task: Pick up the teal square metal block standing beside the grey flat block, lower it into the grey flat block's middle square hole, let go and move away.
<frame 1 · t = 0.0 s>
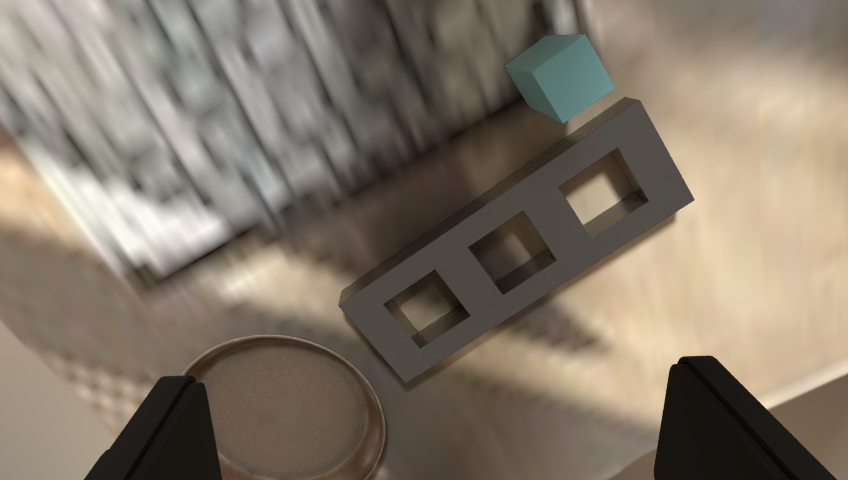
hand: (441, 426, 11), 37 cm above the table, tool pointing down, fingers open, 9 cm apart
plant saucer: (283, 408, 55), on the table
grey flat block: (506, 241, 50), on the table
square block: (537, 72, 45), on the table
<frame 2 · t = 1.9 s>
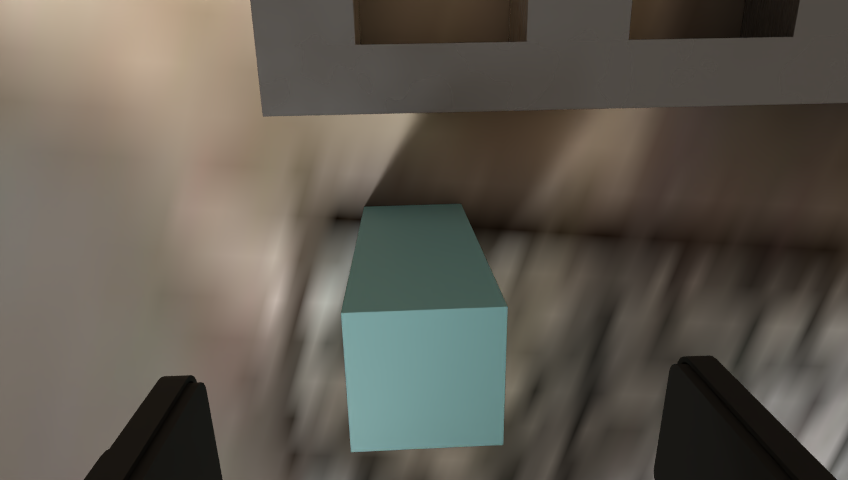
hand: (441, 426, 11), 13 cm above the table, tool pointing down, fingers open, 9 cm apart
square block: (413, 250, 23), on the table
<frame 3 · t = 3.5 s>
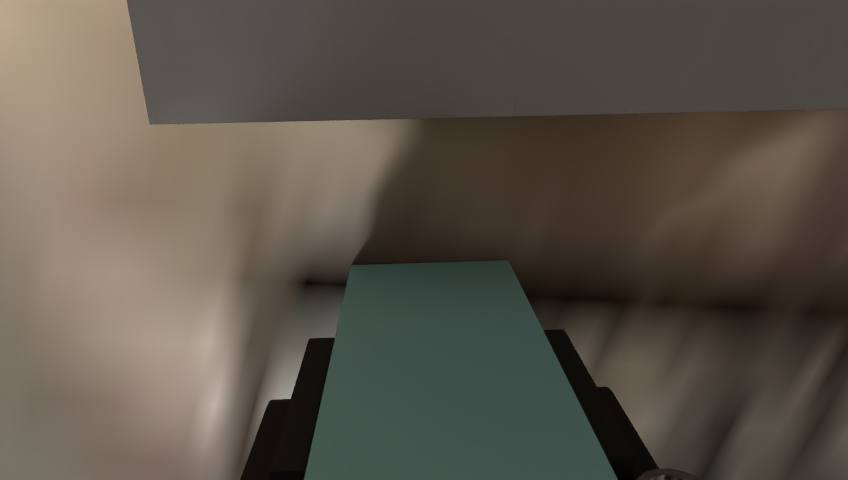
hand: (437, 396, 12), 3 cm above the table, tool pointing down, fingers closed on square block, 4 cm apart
square block: (430, 332, 15), on the table, touching gripper
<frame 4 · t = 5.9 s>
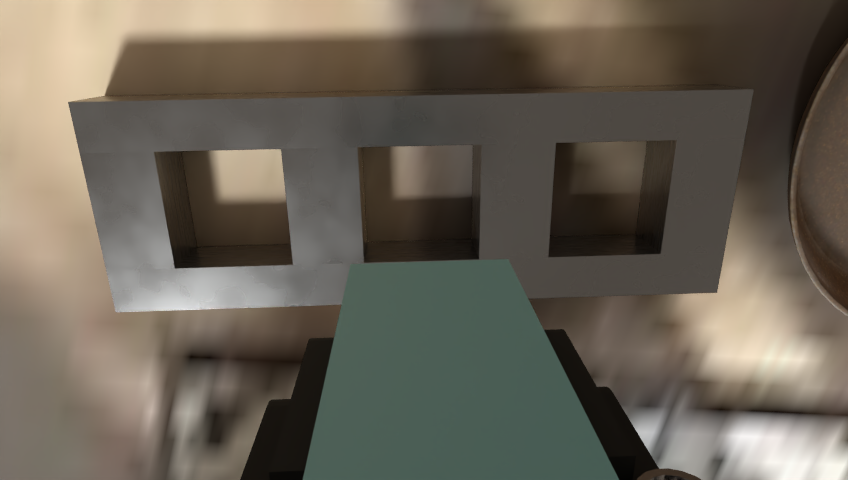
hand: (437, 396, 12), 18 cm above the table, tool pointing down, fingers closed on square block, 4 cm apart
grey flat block: (418, 189, 28), on the table
square block: (430, 331, 15), point 15 cm above the table, touching gripper
when the fingers open (4 cm above the table, at t = 8.3 s): square block stays where it is, resting in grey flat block.
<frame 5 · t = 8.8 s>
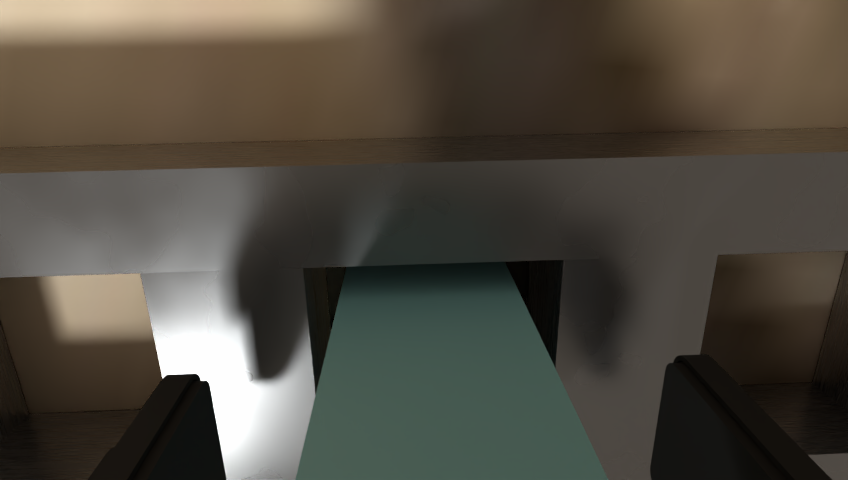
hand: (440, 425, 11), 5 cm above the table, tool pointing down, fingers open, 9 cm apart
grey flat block: (428, 314, 15), on the table
square block: (425, 314, 16), resting in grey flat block
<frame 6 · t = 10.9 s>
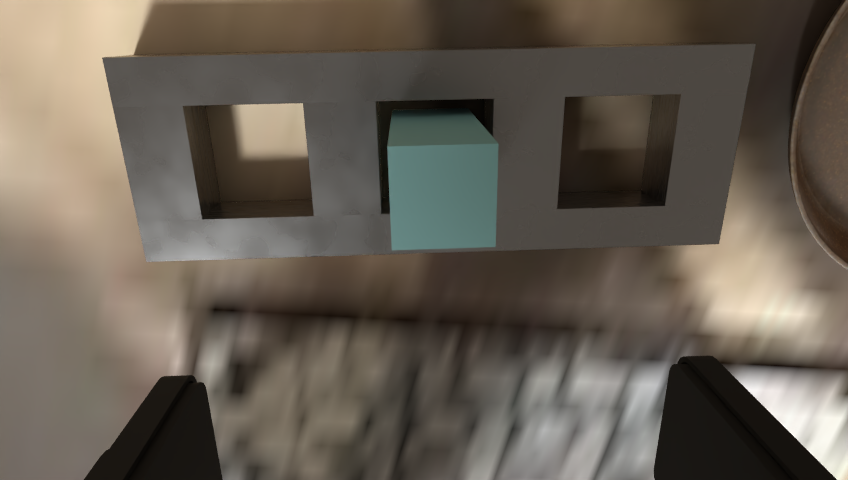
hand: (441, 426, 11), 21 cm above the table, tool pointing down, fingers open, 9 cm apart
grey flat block: (432, 146, 30), on the table
square block: (430, 146, 30), resting in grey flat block
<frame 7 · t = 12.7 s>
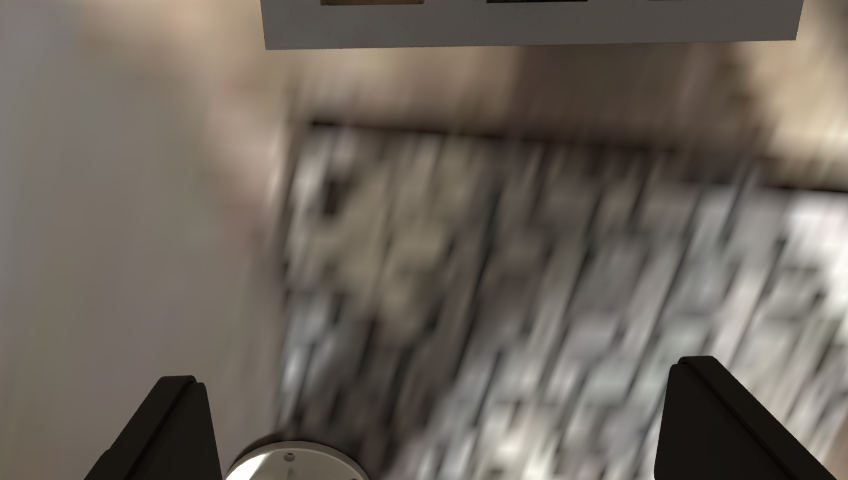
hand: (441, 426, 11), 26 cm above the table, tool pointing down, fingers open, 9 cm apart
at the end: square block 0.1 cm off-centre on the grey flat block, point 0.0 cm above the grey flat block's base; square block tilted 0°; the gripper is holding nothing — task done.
